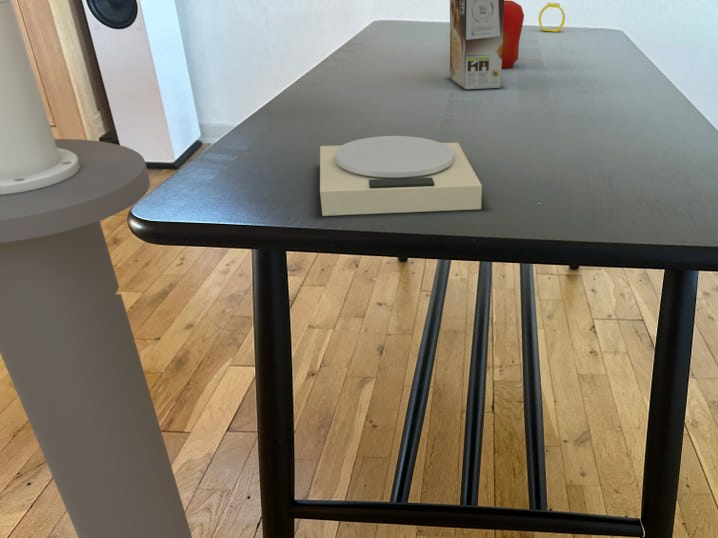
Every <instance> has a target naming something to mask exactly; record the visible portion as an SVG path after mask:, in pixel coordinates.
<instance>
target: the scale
mask: <svg viewBox="0 0 718 538" xmlns="http://www.w3.org/2000/svg"><path fill="white" fill-rule="evenodd" d="M461 147H462V146H461V145H460V143H459V142H440V141H437V140H433V139H429V138H425V137H417V136H409V135H407V136H406V135H380V136H371V137H365V138H359V139H355V140H351V141H349V142H346V143H343V144H342V145H320V146H319V195H320V206H321V213H322V216H323V217H331V216H332V217H333V216H353V215H354V216H355V215H358V216H359V215H379V214H403V213H405V214H406V213H423V212H447V211H449V212H450V211H470V210H475V211H476V210H482V199H483V198H482V194H483V185H482V183H481V181H480V180H479V178H478V176H477V174H476V173H475V171H474V169H473V167H472V165H471V163H470V162H469V160H468V158H467V156H466V154H465V152H464V151H463V149H462V148H461Z"/></svg>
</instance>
